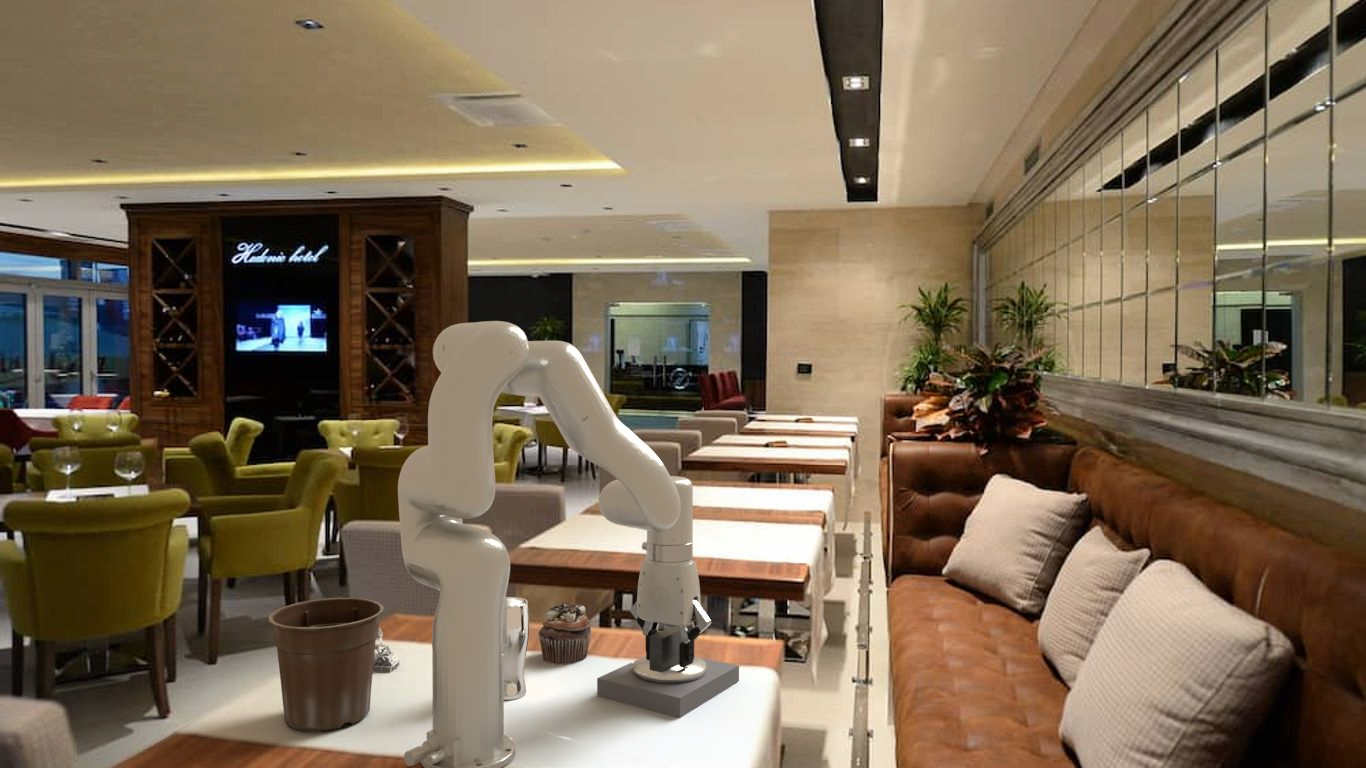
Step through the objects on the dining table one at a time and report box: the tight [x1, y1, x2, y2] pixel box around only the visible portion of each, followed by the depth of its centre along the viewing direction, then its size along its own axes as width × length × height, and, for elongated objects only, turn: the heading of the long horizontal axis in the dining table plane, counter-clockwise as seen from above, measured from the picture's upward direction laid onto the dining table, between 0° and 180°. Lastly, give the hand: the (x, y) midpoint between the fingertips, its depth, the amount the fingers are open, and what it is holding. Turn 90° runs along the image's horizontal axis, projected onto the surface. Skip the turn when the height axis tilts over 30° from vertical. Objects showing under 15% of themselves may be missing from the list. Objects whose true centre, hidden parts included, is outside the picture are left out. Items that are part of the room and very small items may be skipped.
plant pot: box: [268, 597, 384, 732], centre depth 140 cm, size 16×16×16 cm
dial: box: [633, 626, 706, 683], centre depth 151 cm, size 12×12×6 cm
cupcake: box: [537, 601, 592, 665], centre depth 167 cm, size 10×10×10 cm
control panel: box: [596, 656, 740, 718], centre depth 151 cm, size 18×16×3 cm
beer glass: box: [503, 596, 530, 701], centre depth 149 cm, size 7×7×15 cm
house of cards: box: [373, 627, 401, 673], centre depth 164 cm, size 9×9×8 cm
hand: (669, 660), depth 151 cm, fingers open, 5 cm apart
